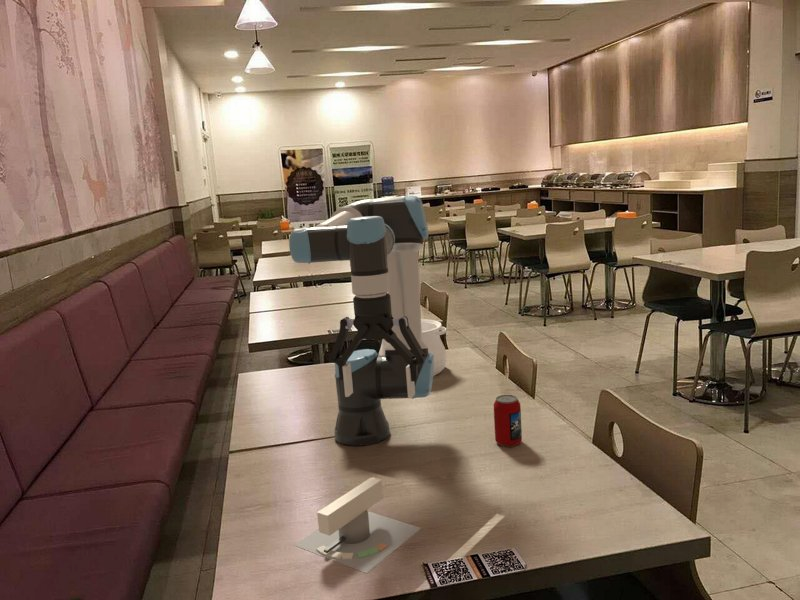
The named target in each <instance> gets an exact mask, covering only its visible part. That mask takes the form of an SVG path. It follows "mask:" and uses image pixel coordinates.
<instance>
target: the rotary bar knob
mask: <svg viewBox="0 0 800 600" xmlns="http://www.w3.org/2000/svg"><path fill="white" fill-rule="evenodd" d="M383 499H384V493H383V481H382V479H380V478H377V477H376V478H375V477H374V476H373V477H372V476H371V477H369V478H368V479H366V480H365V481H363V482H362V483H359V485H357V486H355V487H354V488H352V489H351V490H349V491H348V492H346V493H344V494H343V495H341V496H340V497H339V498H337V499H335V500H334V501H332V502H331V503H329V504H328V505H326V506H325V507H323V508H321V509H320V510H318V511H317V512H316V516H317V524H318V529H319V532H320V533H323V534H326V535H329V536H330V535H332V534H333V533H334V532H336V531H337V530H339V539H338V540H336V541H335V542H334V543H332V544H331V545H329V546H328V547H327V548H325V549H324V552H325V553H328V552H330V551H331V550H332V549H334V548H335V547H336V546H338V545H339V544H340V543H342V542H344V543H348V544H356V543H360V542H363V541H365V540H366V539H368V538H369V536H370V528H369V517H368V510H369V509H370V508H372V507H373V506H374V505H375V504H377V503H379V502H380V501H382V500H383Z"/></svg>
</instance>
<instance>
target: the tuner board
mask: <svg viewBox="0 0 800 600" xmlns="http://www.w3.org/2000/svg"><path fill="white" fill-rule="evenodd" d="M367 511H368V510H367ZM368 517H369V528H370V536H369V538H368V539H366V540H365V541H363V542H360V543H356V544H348V543H344V542H342V543H340V544H339V545H338V546H336V547H335V548H334V549H332V550H331V551H330V552H328V553H325V552H324V549H325V548H327V547H328V546H329V545H331V544H332V543H334V542H335V541H336V540H338V539H339V530H337V531H336V532H334V533H333V534H332V535H330V536H329V535H326V534H323V533H320V532H319V528H318V529H316V530H315V531H313V532H311V533H310V534H309V535H307V536H306V537H304V538H302V539H301V540H300V541H298V542H297V543H296V544H294V545H293V546H295V547H297V548H300V549H302V550H306V551H307V552H311V553H313V554H315V555H317V556H320V557H323V558H325V559H329V560H331V561H334V562H336V563H338V564H341V565H344V566H346V567H349V568H351V569H354V570H357V571H359V572H362V573H364V574H368V573H369V572H370V571H371V570H373V569H374V568H376V566H378V565H379V564H380V563H381V562H383V561H384V560H385V559H386V558H388V557H389V556H390V555H391V554H393V552H394V551H396V550H397V549H398V548H400V547H401V546H402V545H403V544H405V543H406V542H407V541H408V540H410V539H411V538H412V537H413V536H415V535H416V534H417V533H418V532H419V531H421V529H422V527H420V526H416V525H413V524H410V523H407V522H403V521H400V520H397V519H394V518H390V517H389V516H388V517H387V516H384V515H382V514H378V513H375V512H372V511H368Z"/></svg>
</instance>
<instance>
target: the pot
mask: <svg viewBox="0 0 800 600" xmlns="http://www.w3.org/2000/svg"><path fill="white" fill-rule="evenodd" d="M421 329H422V341H423V343H424V344H426V345H427V346H428V354H429V353H431V354H433V355H434V374H433V377H434V376H436V375H439V374H440V373H441V372H442V371H443V370H444V369H445V367H446V364H447V351H446V347H445V346H444V343H443V341H442V339H441V335H445V334H446V333H447V328H446V327H445V326H442V322H440V321H437V320H434V319H425V318H424V319H423V318H421ZM388 345H389V343H388V342H386V340H385V339H382V340H381V345H380V349H379V352H378V356H384V355H385V348H386V347H387V346H388Z"/></svg>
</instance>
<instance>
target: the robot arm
mask: <svg viewBox="0 0 800 600" xmlns="http://www.w3.org/2000/svg"><path fill="white" fill-rule="evenodd" d="M421 199H422V198H420V197H418V196H416V195H415V196H413V195H412V196H411V195H410V196H407V195H406V196H405V195H401V196H400V195H399V196H391V197H380V198H364V199H361V200H357V201H354V202H352V203H349V204H347V205H344V206H341V207H340V208H337V210H335V211H334V212H333V213H332V215H330V217H329V218H328V219H326V220H324V221H323V222H321V223H319V224H317V225H315V226H313V227H304V226H303V227H302V228H301V227H300V228H294V229H292V230H291V232H290V234H289V239H288V245H289V253H290V257H291V259H292V260H293V261H294V262H295V263H298V264H300V263H301V264H311V263H314V264H315V263H325V262H328V263H329V262H337V261H338V262H342V261H349V267H350V278H351V291H352V294H353V296H354V297H353V298H352V300H353V301H352V302H353V311H354V312H353V314H354V318H350V317H349V316H345V317H344V318H342V319H340V321H339V331H338V334H337V335H336V336H337V337H336V339H335V342H334V344H333V347H332V350H331V352H330V355H329V358H328V362H329V363H330V364H331V363H332V364H333V363H334V378H335V386H336V388H335V389H336V396H337V405H338V406H337V407H338V411H337V417H336V421H335V426H334V431H333V432H334V439H335V441H336V442H338V443H339V444H342V445H345V446H352V447H357V446H358V447H359V446H361V447H362V446H369V445H372V444H377V443H379V442H382V441H384V440H385V439H387V438H388V437H389V436H390V433H391V432H390V431H391V430H390V423H389V421H388V420H387V418H386V415H385V413H384V410H383V408H382V403H381V402H382V401H381V400H390V399H392V400H393V399H412V400H414V399H419V398H420V399H421V398H426V397H428V396H429V395H431V392H432V388H433V382H434V376H433V374H434V355H433V354H431V353H429V354H428V346H427V345H426V344H424V343H423V341H422V329H421V319H422V313H421V312H422V311H421V289H420V288H421V287H420V271H419V270H420V269H419V252H420V250H422V248H423V247H424V240H426V239H428V238H429V228H428V222H427V216H426V213H425V207H424V204H423V201H422V200H421ZM353 326H354V328H355V329H356V330H357V333H356V335H355V336H354V338H353V339H352V341H351V342H350V344H349V345H347V348H346V349H345V351H344V352H343V353H342V355H341V352H342V350H343V347H344V345H345V342H346V340H347V337H348V334H349V333H350V332H349V331H350V329H351V328H353ZM382 339H385V340H386V342H388V343H389V345H388V346H387V347H386V348H385V355H384V356H379V355H378V352H377V350H375V349H370V348H363V349H358V348H357V347H358V346H360V344H361V343H362V341H363V340H366V341H373V340H374V341H382ZM356 349H357V350H356Z"/></svg>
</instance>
